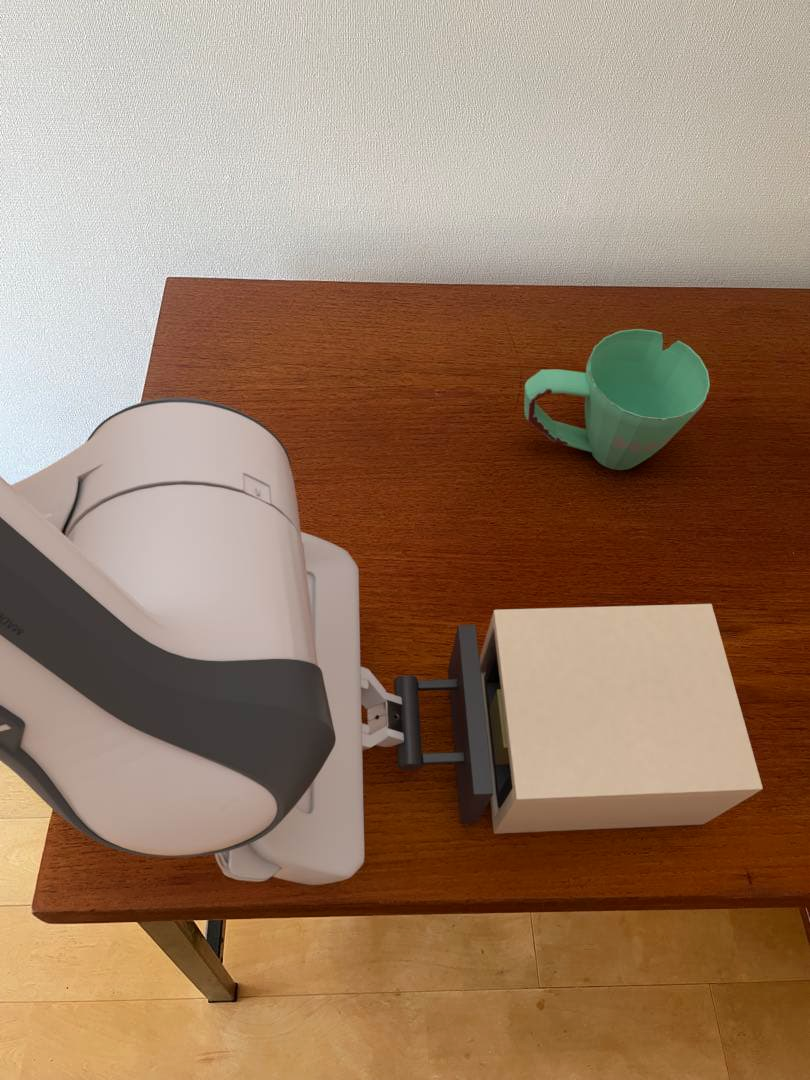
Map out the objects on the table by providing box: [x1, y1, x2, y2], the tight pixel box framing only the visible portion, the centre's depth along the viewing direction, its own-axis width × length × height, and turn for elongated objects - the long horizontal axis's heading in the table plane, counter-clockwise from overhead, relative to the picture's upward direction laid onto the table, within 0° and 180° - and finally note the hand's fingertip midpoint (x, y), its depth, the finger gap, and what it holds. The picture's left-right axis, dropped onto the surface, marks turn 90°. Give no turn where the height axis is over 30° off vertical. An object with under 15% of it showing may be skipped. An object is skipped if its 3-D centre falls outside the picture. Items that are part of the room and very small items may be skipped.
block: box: [490, 689, 510, 765], centre depth 55 cm, size 4×4×4 cm
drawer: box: [393, 624, 513, 824], centre depth 54 cm, size 18×11×8 cm, turn 93°
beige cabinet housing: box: [479, 603, 764, 835], centre depth 54 cm, size 15×12×10 cm
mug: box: [523, 328, 711, 471], centre depth 68 cm, size 15×10×10 cm
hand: (396, 723), depth 52 cm, fingers closed, pressing on drawer
